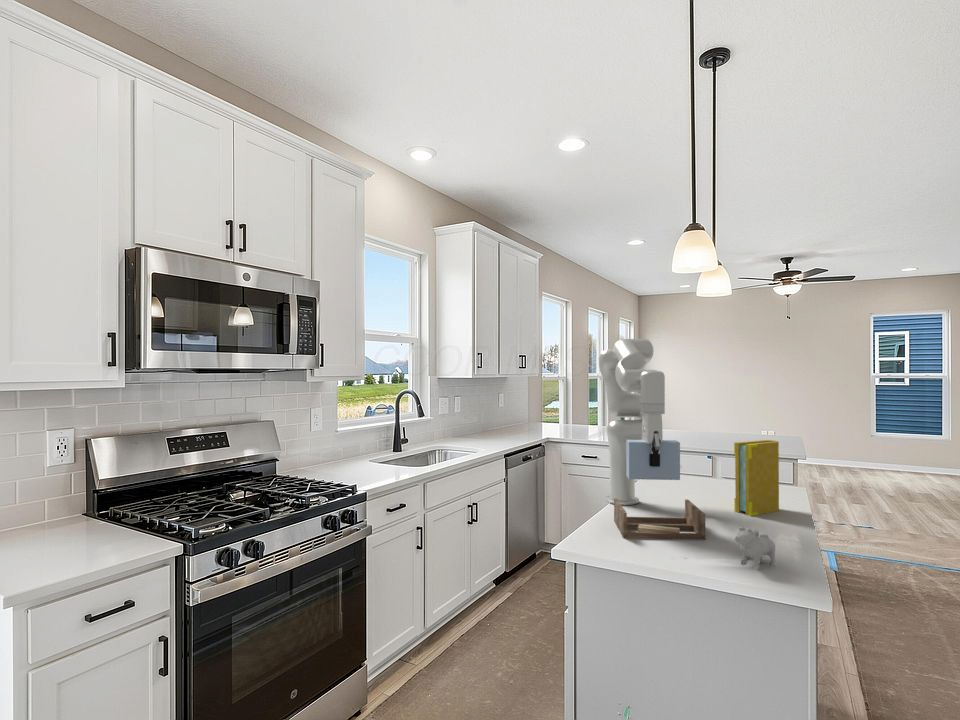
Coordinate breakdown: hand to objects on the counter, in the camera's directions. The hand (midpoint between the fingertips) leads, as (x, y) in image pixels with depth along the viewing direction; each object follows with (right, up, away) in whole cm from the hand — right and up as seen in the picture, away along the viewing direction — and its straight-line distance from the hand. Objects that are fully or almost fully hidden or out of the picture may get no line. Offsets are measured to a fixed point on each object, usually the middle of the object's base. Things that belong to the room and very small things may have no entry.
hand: (652, 464), depth 184 cm
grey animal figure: (+17, -21, -33) cm, 43 cm away
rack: (0, -21, -6) cm, 22 cm away
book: (+45, -21, +21) cm, 54 cm away
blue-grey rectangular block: (0, -5, 0) cm, 5 cm away
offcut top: (-1, -20, -10) cm, 22 cm away
